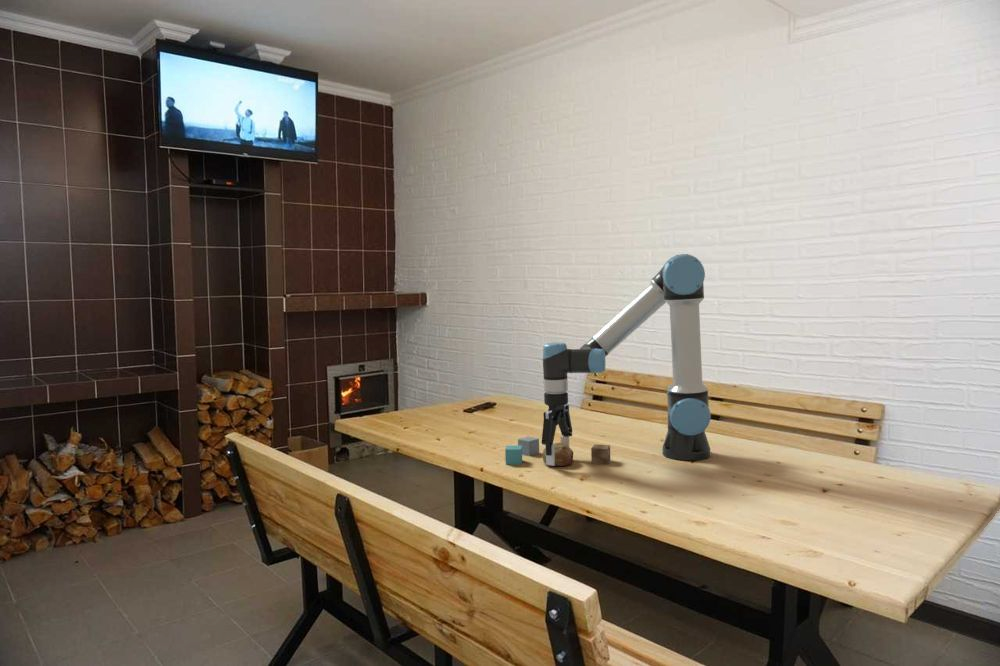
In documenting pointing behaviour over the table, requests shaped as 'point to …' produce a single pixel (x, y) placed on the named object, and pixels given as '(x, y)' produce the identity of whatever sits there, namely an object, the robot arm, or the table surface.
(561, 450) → the bread roll
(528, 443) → the slate grey block
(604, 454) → the walnut block
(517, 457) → the dark teal block
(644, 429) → the table surface
